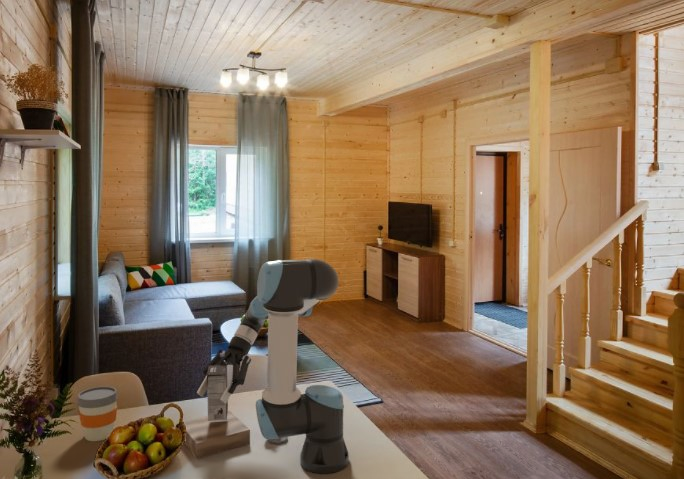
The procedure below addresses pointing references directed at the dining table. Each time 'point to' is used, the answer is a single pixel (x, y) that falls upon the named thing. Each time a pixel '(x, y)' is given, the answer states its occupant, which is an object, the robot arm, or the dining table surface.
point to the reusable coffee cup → (97, 412)
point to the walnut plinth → (215, 435)
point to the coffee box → (216, 392)
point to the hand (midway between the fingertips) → (211, 398)
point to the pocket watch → (278, 440)
